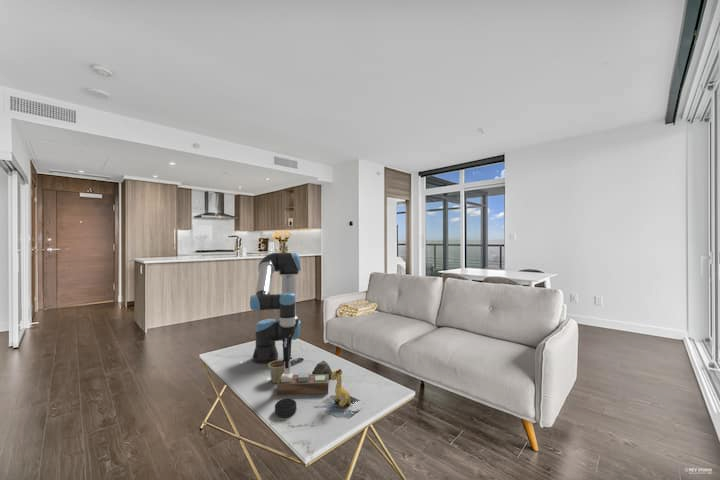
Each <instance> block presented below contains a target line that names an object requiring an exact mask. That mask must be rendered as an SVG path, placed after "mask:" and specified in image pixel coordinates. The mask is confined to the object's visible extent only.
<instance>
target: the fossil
mask: <svg viewBox="0 0 720 480" xmlns="http://www.w3.org/2000/svg"><path fill="white" fill-rule="evenodd" d="M332 372H333V371H332V369H331V366H330V365H329V364H328V362H327V361H325V360H321V362H318V363H317V364H316V366H314V369H313V370H312V373H311V374H329V380H330V379H331V374H332Z"/></svg>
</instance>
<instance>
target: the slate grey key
mask: <svg viewBox="0 0 720 480" xmlns="http://www.w3.org/2000/svg"><path fill="white" fill-rule="evenodd" d="M309 374H310V372H298V375H299V376H298V382H308V381H309Z"/></svg>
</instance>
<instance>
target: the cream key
mask: <svg viewBox="0 0 720 480" xmlns="http://www.w3.org/2000/svg"><path fill="white" fill-rule="evenodd" d="M293 375H294V373H293V372H290V374H284V373H283V374H282V377H281V382H292V380H293Z"/></svg>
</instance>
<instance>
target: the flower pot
mask: <svg viewBox="0 0 720 480" xmlns="http://www.w3.org/2000/svg"><path fill="white" fill-rule="evenodd" d="M267 364H268V368H269V372H270V378H271V379H270V380H271V382H272V383H274V384H277V383H278V381H279V378H280V376H281V375H282V374H283V373H284V361H283V359H282V360H281V359H277V360H275V361H272V362H269V363H267Z"/></svg>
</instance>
